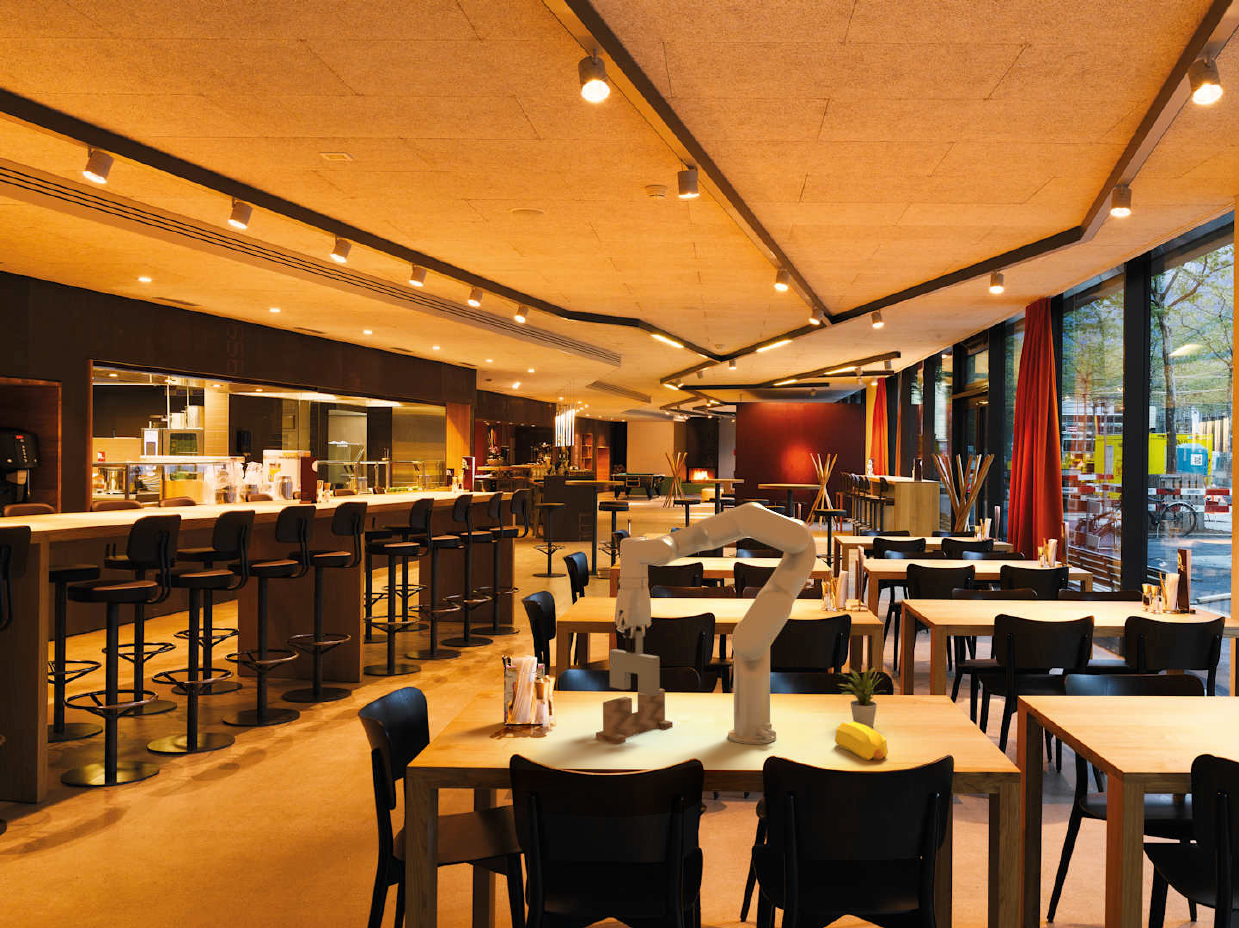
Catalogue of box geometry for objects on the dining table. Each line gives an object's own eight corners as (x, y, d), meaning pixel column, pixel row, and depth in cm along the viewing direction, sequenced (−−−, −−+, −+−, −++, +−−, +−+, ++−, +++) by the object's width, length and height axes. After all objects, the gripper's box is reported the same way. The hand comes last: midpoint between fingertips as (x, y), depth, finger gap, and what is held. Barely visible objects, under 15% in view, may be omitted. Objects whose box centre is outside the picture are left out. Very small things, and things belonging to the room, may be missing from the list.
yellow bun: (855, 741, 248) (828, 744, 246) (854, 716, 248) (828, 718, 246) (894, 761, 231) (867, 765, 229) (894, 734, 231) (867, 737, 229)
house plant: (846, 715, 274) (846, 658, 274) (894, 721, 267) (894, 663, 267) (830, 726, 262) (830, 667, 262) (880, 733, 255) (880, 672, 255)
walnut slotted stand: (650, 722, 268) (650, 686, 268) (672, 727, 262) (672, 690, 262) (595, 738, 252) (595, 700, 252) (617, 744, 246) (617, 705, 246)
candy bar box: (503, 726, 265) (503, 667, 265) (505, 721, 270) (505, 663, 270) (544, 725, 265) (543, 666, 265) (544, 720, 270) (544, 662, 270)
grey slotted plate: (659, 694, 253) (659, 634, 253) (653, 696, 251) (653, 635, 251) (616, 685, 264) (615, 627, 264) (609, 686, 262) (609, 628, 262)
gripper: (643, 579, 266) (643, 645, 266) (603, 585, 254) (603, 654, 254) (663, 582, 261) (664, 649, 261) (623, 587, 249) (624, 657, 249)
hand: (634, 651), depth 257 cm, fingers closed on grey slotted plate, 2 cm apart
